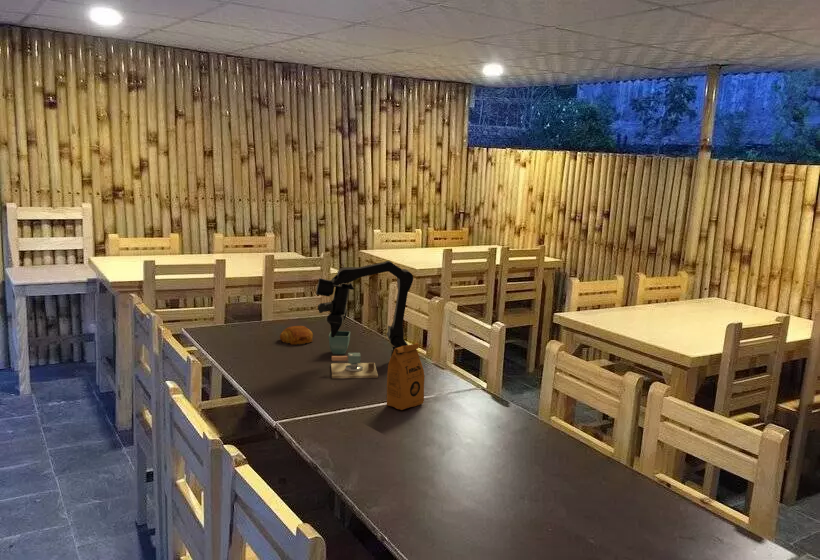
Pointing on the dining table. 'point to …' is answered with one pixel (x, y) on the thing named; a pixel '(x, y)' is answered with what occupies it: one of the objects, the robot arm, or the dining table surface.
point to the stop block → (371, 366)
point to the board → (340, 372)
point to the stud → (354, 367)
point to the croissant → (296, 335)
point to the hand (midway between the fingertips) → (334, 334)
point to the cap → (348, 358)
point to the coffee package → (405, 378)
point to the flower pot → (339, 342)
